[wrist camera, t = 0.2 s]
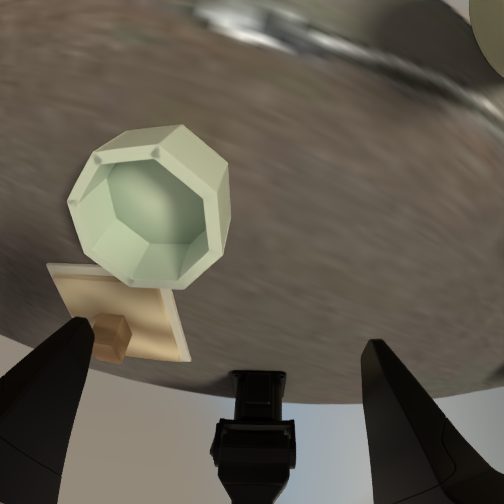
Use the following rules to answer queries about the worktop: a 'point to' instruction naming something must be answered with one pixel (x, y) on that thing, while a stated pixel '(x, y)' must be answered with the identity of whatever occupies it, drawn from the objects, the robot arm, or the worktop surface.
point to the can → (489, 30)
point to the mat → (98, 270)
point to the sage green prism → (153, 207)
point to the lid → (120, 317)
